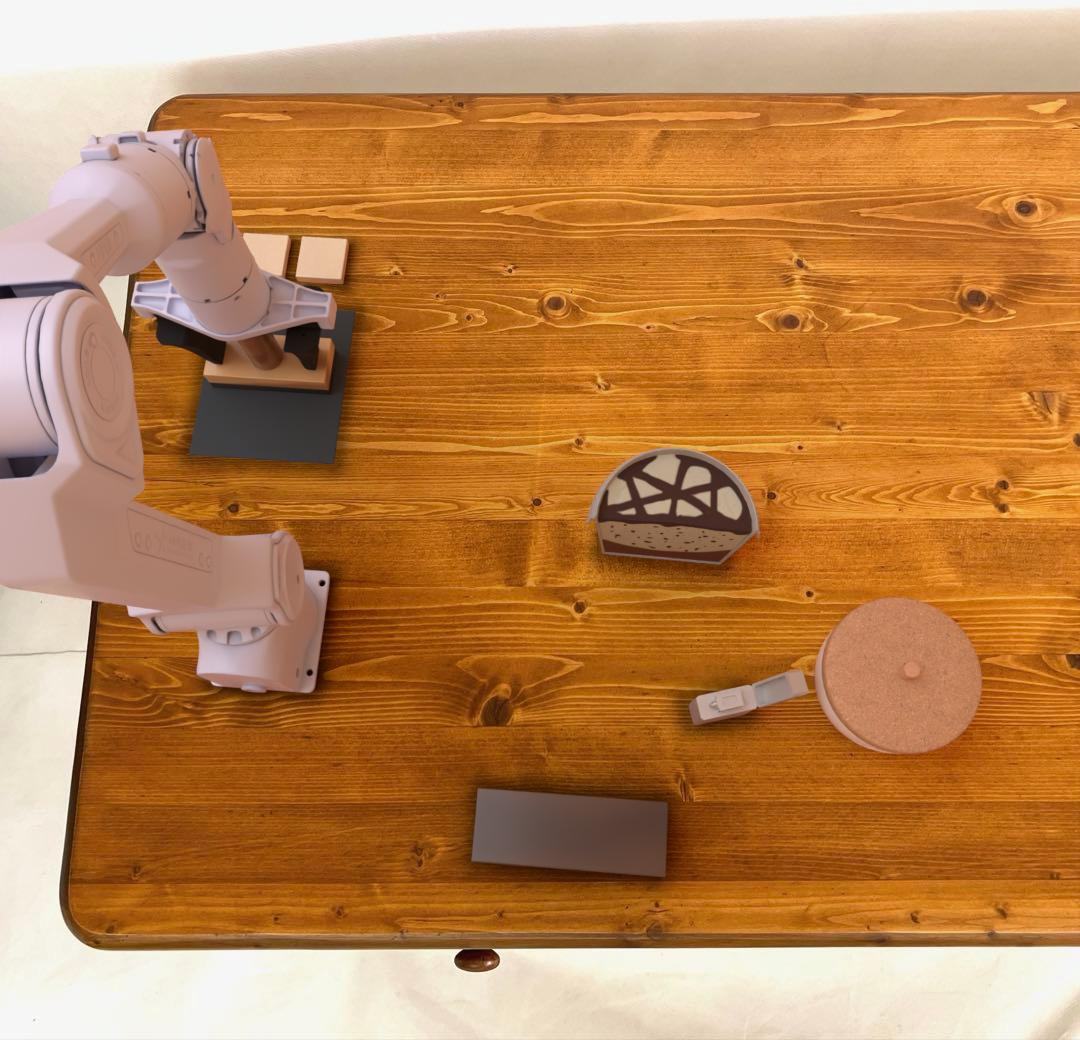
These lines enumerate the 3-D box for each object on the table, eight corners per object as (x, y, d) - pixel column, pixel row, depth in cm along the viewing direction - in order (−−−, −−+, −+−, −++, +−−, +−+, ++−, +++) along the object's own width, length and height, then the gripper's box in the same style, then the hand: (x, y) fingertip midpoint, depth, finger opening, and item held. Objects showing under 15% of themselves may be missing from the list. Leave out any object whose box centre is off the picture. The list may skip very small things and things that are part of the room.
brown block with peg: (331, 395, 81) (307, 351, 74) (213, 387, 82) (177, 343, 74) (337, 351, 83) (315, 304, 75) (221, 344, 83) (187, 296, 75)
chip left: (285, 282, 85) (281, 275, 84) (240, 280, 85) (235, 272, 84) (292, 242, 86) (288, 235, 85) (247, 240, 86) (243, 232, 85)
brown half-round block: (742, 492, 79) (768, 448, 69) (739, 566, 77) (765, 531, 67) (589, 479, 79) (594, 432, 70) (583, 552, 78) (587, 514, 68)
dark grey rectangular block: (656, 872, 71) (665, 877, 65) (477, 858, 71) (470, 861, 65) (659, 803, 72) (668, 802, 66) (483, 789, 72) (477, 787, 67)
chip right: (344, 286, 85) (341, 279, 84) (298, 283, 85) (295, 276, 84) (350, 246, 86) (347, 238, 85) (305, 243, 86) (301, 235, 85)
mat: (334, 465, 80) (333, 463, 80) (190, 456, 80) (188, 454, 80) (356, 312, 84) (355, 310, 84) (218, 304, 84) (217, 302, 84)
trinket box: (936, 772, 72) (990, 765, 63) (790, 745, 73) (823, 735, 64) (944, 630, 75) (997, 605, 66) (805, 606, 76) (838, 578, 67)
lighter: (693, 726, 74) (709, 715, 66) (687, 703, 74) (703, 690, 66) (784, 705, 74) (811, 692, 66) (778, 683, 74) (803, 667, 67)
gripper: (323, 221, 68) (361, 317, 81) (117, 209, 68) (188, 307, 81) (309, 312, 66) (350, 396, 79) (97, 299, 66) (172, 385, 79)
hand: (266, 356), depth 80 cm, fingers open, 7 cm apart
